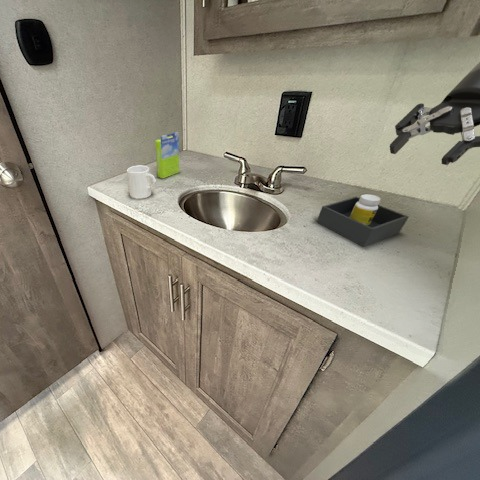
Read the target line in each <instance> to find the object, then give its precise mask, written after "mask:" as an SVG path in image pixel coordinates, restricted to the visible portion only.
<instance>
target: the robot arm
mask: <svg viewBox="0 0 480 480" xmlns="http://www.w3.org/2000/svg"><path fill="white" fill-rule="evenodd" d="M427 124H429V125H428V126H426V125H427ZM478 126H480V61H479V62H478V63H477V64H476V65H475V66H474V67H473V68H472V69H471V70H470V71H469V72H468V73H467V74H466V75H465V76H464V77H463V78H462V79H461V80H460V81H459V82H458V83H457V84H456V85H455V86H454V87H453V89H452V90H450V91H449V92H448V94H447V95H446V96H445V97H444V99H443V100H442V101H441V102H440V103H439V104H437V105H436V106H434V107H427V106H425V104H424V103H418V104H417V105H415V106H414V107H413V108H412V109H411V110H410V111H409V112H408V113H407V114H406V115H404V116H403V118H401V119H400V120H399V121H398V122H397V124H395V125H394V129H395V134H396V137H395V139H394V140H393V141H391V143H390V144H389V152H390V154H392V155H396V154H397V153H398V152H399V151H401V150H402V148H403V147H404V146H405V145H406V144H407V143H408V142H409V141H410V139H413V138H415V137H417V136H424V135H426V134H429V133H431V132H432V133H436V134H439V133H441V134H443V133H444V134H447V135H452V136H454V135H455V134H460V138H461V140H458V141H457V142H456V143H455V144H454V145H453V146H452V147H451V148H450V149H448V151H447V152H446V153H445V154H444V155H443V156H442V158H441V165H445V166H448V165H449V164H451V163H452V164H453V163H455V162H457V161H458V160H459V159H461V157H463V156H464V155H465V153H467V152H468V151H469V150H471V149H473V148H480V135H478V136H477V135H476V133H475V127H478Z"/></svg>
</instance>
